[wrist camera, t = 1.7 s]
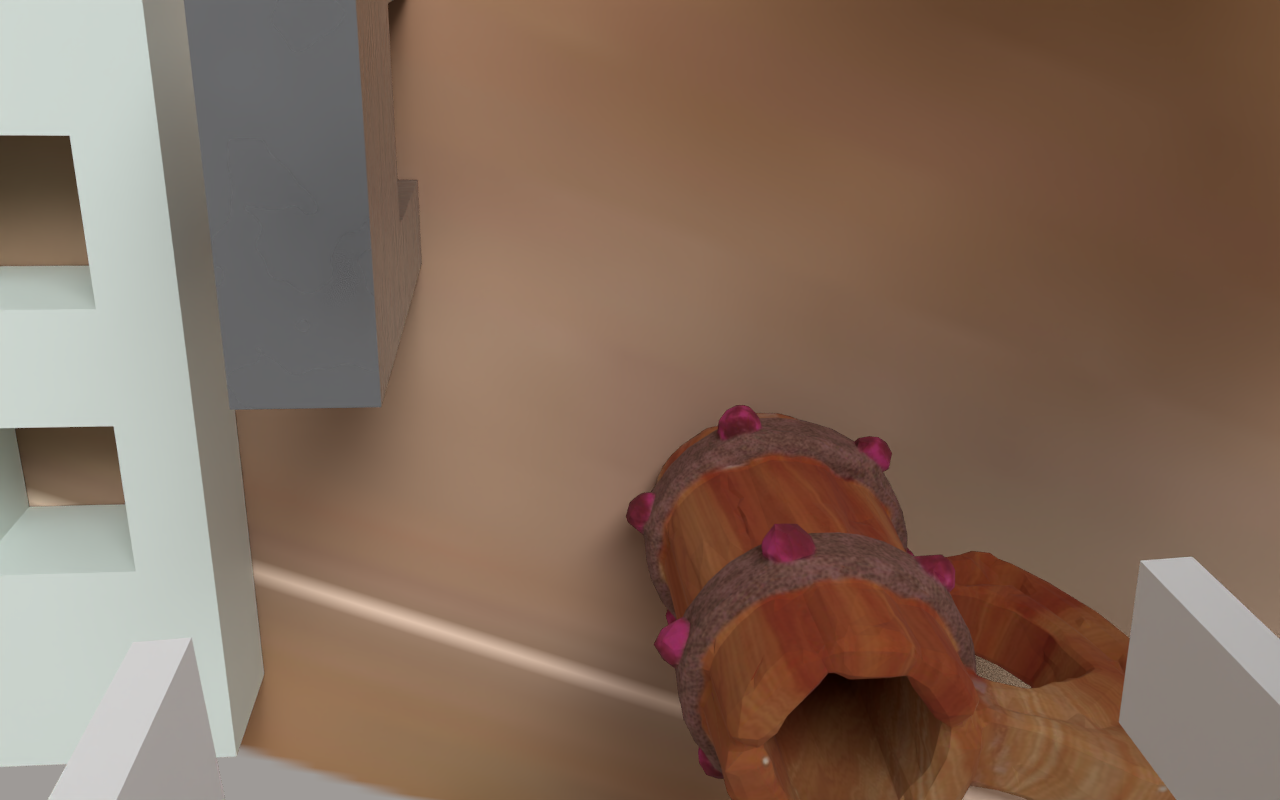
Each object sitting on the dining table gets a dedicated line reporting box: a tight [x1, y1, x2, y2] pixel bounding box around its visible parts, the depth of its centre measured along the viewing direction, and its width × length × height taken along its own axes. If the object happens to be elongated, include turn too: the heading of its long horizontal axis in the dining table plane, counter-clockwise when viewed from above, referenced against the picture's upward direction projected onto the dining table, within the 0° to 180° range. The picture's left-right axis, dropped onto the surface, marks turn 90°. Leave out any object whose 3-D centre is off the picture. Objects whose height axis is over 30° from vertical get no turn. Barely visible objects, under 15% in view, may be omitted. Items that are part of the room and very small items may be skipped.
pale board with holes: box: [0, 0, 264, 767], centre depth 35 cm, size 26×9×4 cm, turn 179°
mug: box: [626, 405, 1176, 800], centre depth 35 cm, size 15×8×15 cm, turn 76°
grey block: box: [184, 0, 422, 410], centre depth 30 cm, size 11×3×12 cm, turn 179°
